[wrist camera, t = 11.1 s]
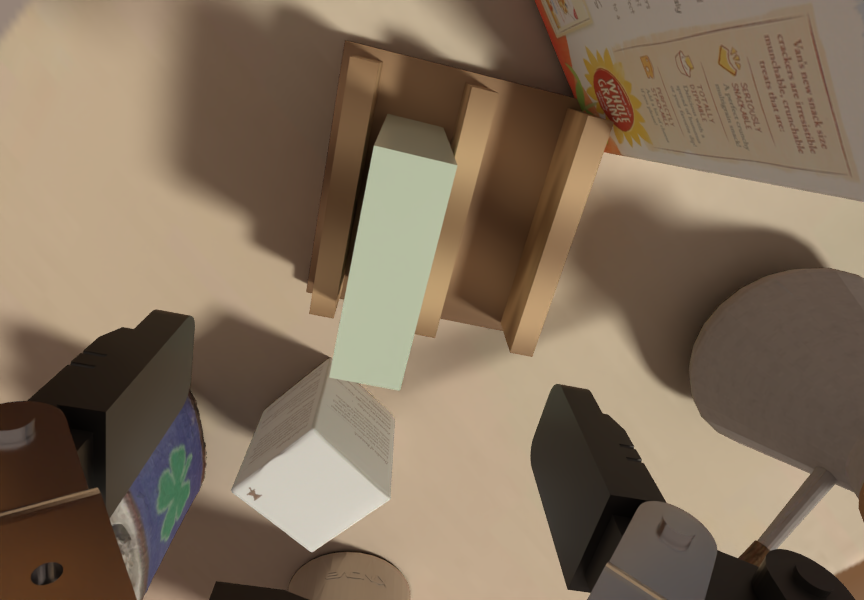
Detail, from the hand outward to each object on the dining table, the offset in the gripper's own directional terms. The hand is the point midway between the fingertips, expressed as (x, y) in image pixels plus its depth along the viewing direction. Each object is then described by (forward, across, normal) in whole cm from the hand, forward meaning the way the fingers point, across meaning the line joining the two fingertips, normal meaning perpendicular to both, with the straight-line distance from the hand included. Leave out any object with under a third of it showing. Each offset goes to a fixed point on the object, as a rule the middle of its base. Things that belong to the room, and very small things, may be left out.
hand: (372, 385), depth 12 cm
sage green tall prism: (+18, 0, 0) cm, 18 cm away
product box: (+20, +1, +15) cm, 24 cm away
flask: (+20, +10, +19) cm, 29 cm away
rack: (+19, -3, 0) cm, 19 cm away
